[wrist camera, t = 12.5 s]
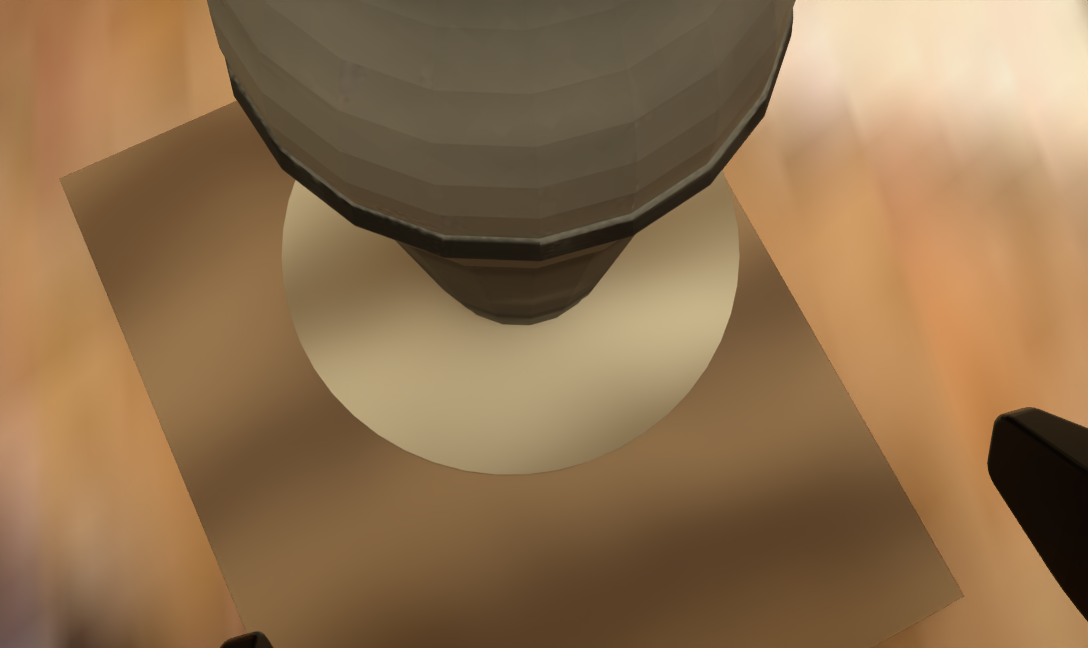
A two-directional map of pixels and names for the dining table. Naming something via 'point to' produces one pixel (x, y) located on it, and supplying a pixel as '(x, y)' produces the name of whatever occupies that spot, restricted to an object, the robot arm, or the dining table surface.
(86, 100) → the dining table surface
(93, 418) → the dining table surface
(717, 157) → the beverage cup
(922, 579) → the walnut board
